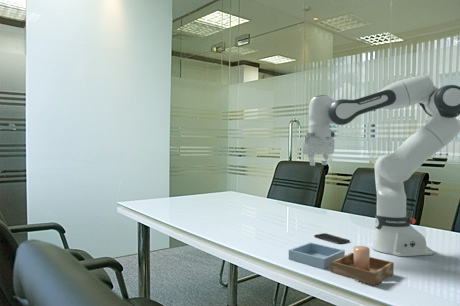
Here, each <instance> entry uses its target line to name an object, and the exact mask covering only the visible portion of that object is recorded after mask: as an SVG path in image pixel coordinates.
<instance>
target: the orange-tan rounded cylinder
mask: <svg viewBox="0 0 460 306" xmlns="http://www.w3.org/2000/svg"><path fill="white" fill-rule="evenodd" d="M352 248H353V252H352V253H354V267H355V268H359V269H363V270H367V271H370V257H371V256H370V253H371V252H370V247H368V246H365V245H355V246H353V247H352Z"/></svg>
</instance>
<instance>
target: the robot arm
mask: <svg viewBox="0 0 460 306" xmlns="http://www.w3.org/2000/svg"><path fill="white" fill-rule="evenodd" d="M416 104H418V105H419V106H420V107H421V108H422V110H423V111H424V112H425V114H426V115H427V116H429V117H431V119H430V120H429V121H428V122H427V123H426V124H425V125H424V126H422V127H421V128H419V129H418V130H417V131H415V132H414V133H413V134H412V135H409V137H408V138H406V139H405V140H404V142H403V143H402V144H401V145H400V146H398V147H397V149H395V150H394V151H393V152H392V153H390V154H389V153H388V154H382V155H381V156H379V157H378V158H377V159H376V160H375V162H374V166H373V167H374V180H375V181H374V182H375V190H376V214H375V215H374V216H375V218H374V227H375V232H374V238H373V242H372V245H371V248H372V249H373V250H375V251H377V252H380V253H384V254H389V255H394V256H397V257H413V256H415V257H416V256H431V255H434V250H433V249H431V248H430V247H428V246H427V240H426V238H425V236H424V235H423V234H422V233H420V232H419V231H418V230H417V229H416V228H414V227H413V225H414V224H415V222H416V219H415V218H413V217H409V216H407V195H406V190H405V183H404V182H406V181H408V180H409V179H410V178H411V177H412V175H413V174H414V173H415V172H416V171H417V170H418V169H420V167H421V166H422V165H423V164H424V163H425V162H427V160H428V159H430V158H432V156H435V154H437V153H438V152H440V151H441V150H442V149H444V147H445V146H447V145H448V144H450V142H451V141H452V140H454V139H455V138H456V137H457V135H458V134H459V133H460V121H459V120H458V119H457V117H459V116H460V86H459V85H455V84H447V85H443V86H441V87H436V85H434V82H433V80H432V79H431V78H430V77H429V76H427V75H417V76H412V77H408V78H404V79H401V80H397V81H395V82H392V83H389V84H388V85H386V86H385V87H383V88H381V89H380V90H379V91H376V92H375V93H372V94H371V93H370V94H369V95H365V96H362V97H359V98H355V99H345V98H341V99H338V100H336V99H333V98H332V97H330V95H327V94H322V95H321V94H320V95H316V96H313V97H312V98H311V99H310V101H309V104H308V105H309V106H308V119H309V124H308V132H307V133H306V134H305V135H304V138H303V141H302V154H303V155H307V158H308V160H309V165H310V166H311V167H313V166H314V167H315V166H316V160H315V159H314V158H315V155H316V156H320V155H322V160H321V165H322V166H327V164H328V159H329V155H333V154H334V152H335V138H336V133H335V131H333V130H331V129H330V128H331V127H330V126H331V125H335V126H345V125H347V124H349V123H351V122H352V121H354V120H355V119H356V118H357V117H359V116H360V115H364V114H367V113H369V112H372V111H373V112H374V111H376V110H380V109H387V110H388V111H392V110H399V109H404V108H406V107H410V106H413V105H416ZM411 224H413V225H412V226H411Z"/></svg>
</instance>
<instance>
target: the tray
mask: <svg viewBox="0 0 460 306" xmlns="http://www.w3.org/2000/svg"><path fill="white" fill-rule="evenodd" d="M394 264H395V262H393V261H389V260H384V259H381V258H376V257H372V256H370V271H367V270H363V269H359V268H355V267H354V253H353V252H350V253H347V254H345V256H343V257H341V258H339V259H337V260H334V261H332V262H331V266H330V273H333V274H336V275H340V276H343V277H346V278H349V279H353V280H355V281H358V282H357V283H360V282H361V284H364V283H365V285H367V284H369V285H368V286H370V285H372V286H371V287H374V286H375V287H377V286H378V285H380V284H381V283H383V282H382V281H384V280H385V279H386V278H388V277H392V276H394V268H395V267H394ZM379 283H380V284H379ZM376 285H377V286H376Z"/></svg>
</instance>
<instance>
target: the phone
mask: <svg viewBox="0 0 460 306" xmlns="http://www.w3.org/2000/svg"><path fill="white" fill-rule="evenodd" d="M313 236H314V238H315V239H318V240H323V241H325V242H328V243H332V244H336V245H344V244H349V243H350V241H351V240H349V239H347V238H344V237H340V236H338V235H337V236H336V235H334V234H330V233H319V234H314V235H313Z"/></svg>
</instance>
